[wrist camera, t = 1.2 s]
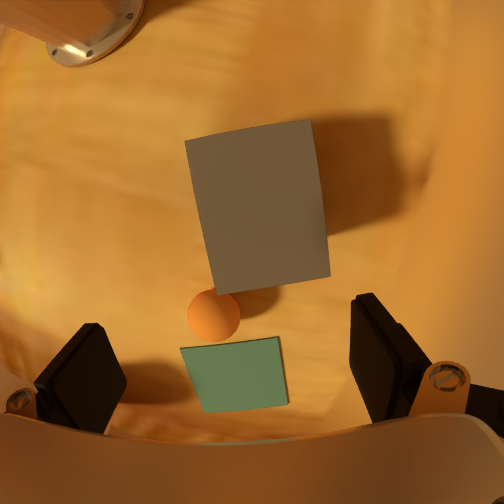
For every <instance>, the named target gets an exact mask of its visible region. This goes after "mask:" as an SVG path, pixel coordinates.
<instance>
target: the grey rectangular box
mask: <svg viewBox="0 0 504 504" xmlns="http://www.w3.org/2000/svg"><path fill="white" fill-rule="evenodd" d="M185 147H186V152H187V158H188V163H189V168H190V173H191V179H192V184H193V189H194V194H195V199H196V203H197V208H198V213H199V218H200V223H201V227H202V232H203V237H204V241H205V246H206V250H207V254H208V259H209V263H210V268H211V272H212V276H213V280H214V285H215V289H216V293H217V295H221V294H228V293H235V292H241V291H248V290H254V289H261V288H267V287H273V286H280V285H286V284H292V283H298V282H303V281H309V280H315V279H321V278H326V277H331V273H330V261H329V251H328V241H327V231H326V222H325V214H324V206H323V198H322V190H321V183H320V176H319V169H318V163H317V157H316V150H315V144H314V138H313V133H312V127H311V122H310V120H302V121H293V122H285V123H278V124H271V125H264V126H258V127H251V128H245V129H240V130H234V131H229V132H224V133H219V134H214V135H209V136H204V137H200V138H195V139H191V140H187V141H185Z"/></svg>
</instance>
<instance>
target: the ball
mask: <svg viewBox="0 0 504 504" xmlns="http://www.w3.org/2000/svg"><path fill="white" fill-rule="evenodd" d="M187 317H188V323H189V325H190V328H191V329H192V331H193V332H194V333H195V334H196V335H197V336H198V337H199V338H201V339H203V340H205V341H209V342H220V341H223V340H226V339H227V338H229V337H231V336H232V335H233V334H234V333H235V331H236V330H237V328H238V326H239V323H240V309H239V306H238V304H237V302H236V301H235V300H234V298H233V297H232V296H231V295H229V294H221V295H217V293H216V290H215V289H212V290H206V291H203V292H201V293H200V294H198V295H197V296H196V297H195V298H194V299H193V300H192V302H191V303H190V305H189V308H188V315H187Z"/></svg>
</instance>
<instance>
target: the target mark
mask: <svg viewBox="0 0 504 504" xmlns="http://www.w3.org/2000/svg"><path fill="white" fill-rule="evenodd" d="M180 351H181V354H182V357H183V360H184V362H185V365H186V368H187V370H188V373H189V375H190V378H191V380H192V383H193V385H194V388H195V390H196V393H197V395H198V398H199V400H200V402H201V405H202V407H203V410H204V412H205V413H210V412H227V411H240V410H250V409H260V408H268V407H276V406H283V405H288V401H287V395H286V388H285V382H284V375H283V369H282V363H281V356H280V350H279V344H278V338H277V337H272V338H265V339H258V340H251V341H244V342H236V343H227V344H219V345H209V346H199V347H188V348H180Z"/></svg>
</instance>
